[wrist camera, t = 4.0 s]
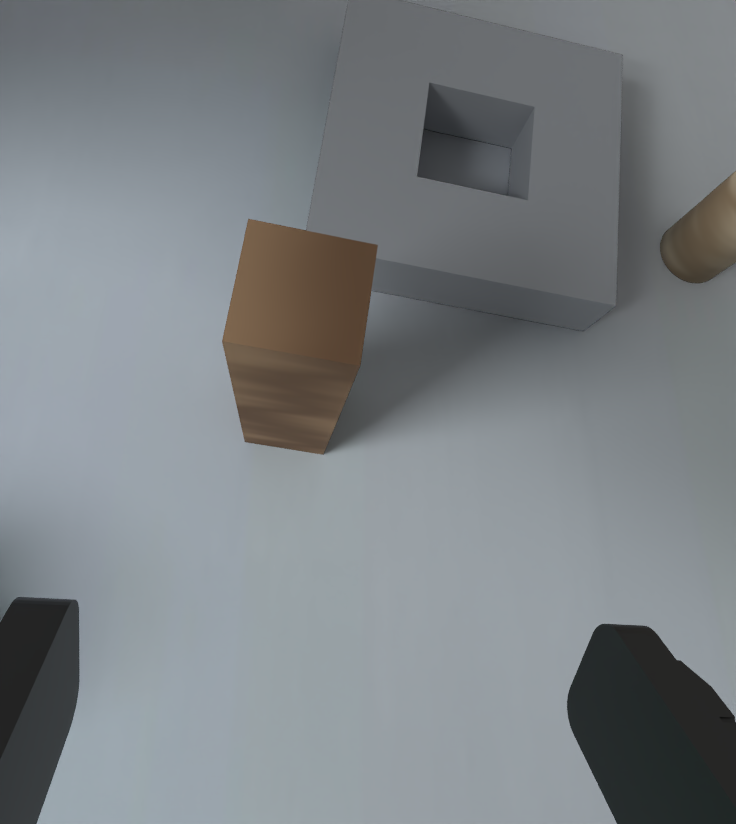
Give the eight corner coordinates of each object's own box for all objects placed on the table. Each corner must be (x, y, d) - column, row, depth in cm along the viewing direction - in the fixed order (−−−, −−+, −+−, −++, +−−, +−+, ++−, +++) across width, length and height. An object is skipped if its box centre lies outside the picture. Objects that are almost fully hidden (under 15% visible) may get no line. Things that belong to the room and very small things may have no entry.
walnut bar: (245, 442, 26) (222, 341, 15) (259, 367, 27) (248, 219, 16) (323, 454, 27) (360, 365, 15) (334, 381, 28) (377, 244, 16)
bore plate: (300, 276, 29) (303, 243, 26) (343, 39, 32) (350, -12, 30) (583, 331, 30) (616, 305, 27) (593, 98, 34) (622, 54, 31)
